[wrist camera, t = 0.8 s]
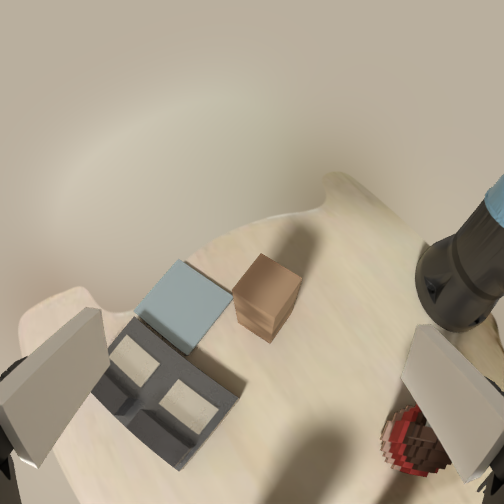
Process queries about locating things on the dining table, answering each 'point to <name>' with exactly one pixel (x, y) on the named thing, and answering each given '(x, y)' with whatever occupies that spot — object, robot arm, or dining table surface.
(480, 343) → the dining table surface
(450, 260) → the robot arm
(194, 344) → the mat
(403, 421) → the cake
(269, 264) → the walnut block
